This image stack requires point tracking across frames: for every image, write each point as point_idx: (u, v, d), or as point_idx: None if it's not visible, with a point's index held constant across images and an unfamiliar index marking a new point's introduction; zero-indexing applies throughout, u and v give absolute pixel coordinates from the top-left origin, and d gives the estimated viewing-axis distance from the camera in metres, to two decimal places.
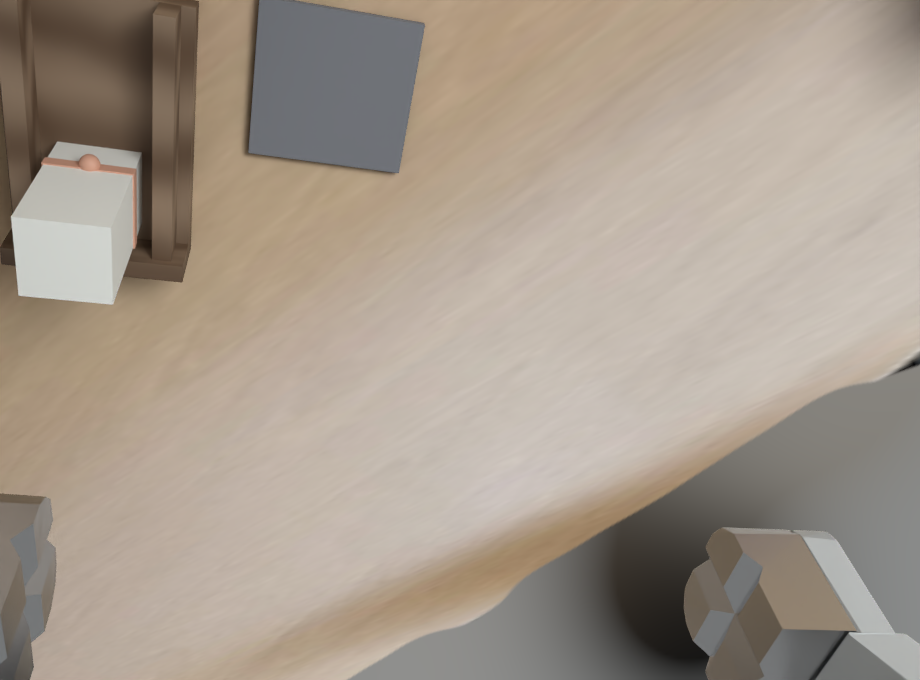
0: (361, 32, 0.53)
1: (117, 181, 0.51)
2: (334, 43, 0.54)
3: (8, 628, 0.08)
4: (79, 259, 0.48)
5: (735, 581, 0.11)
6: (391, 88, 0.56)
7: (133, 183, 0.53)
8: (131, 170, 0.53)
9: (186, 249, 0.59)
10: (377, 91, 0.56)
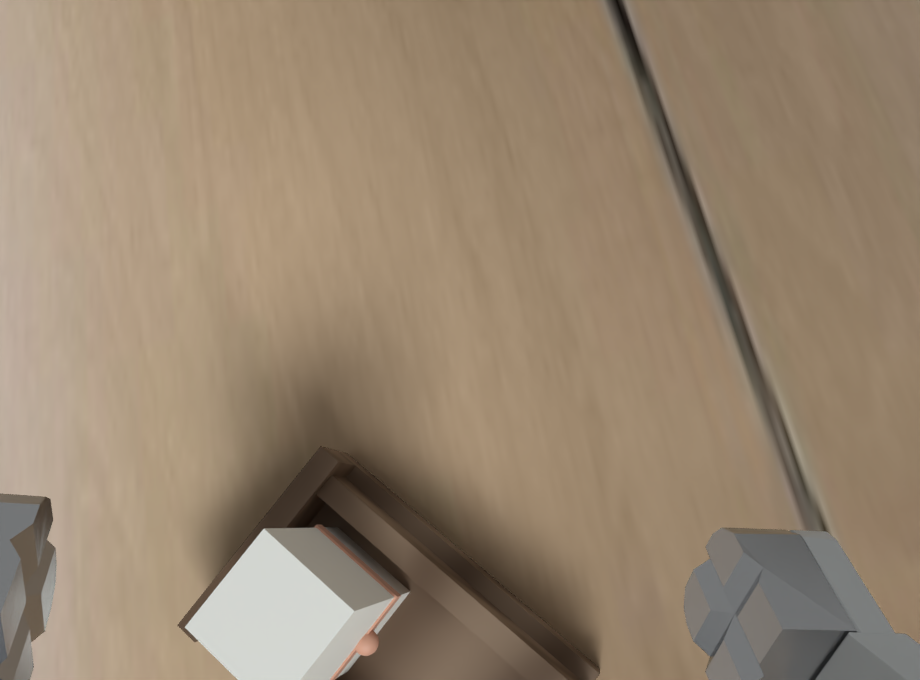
0: None
1: (328, 675, 0.39)
2: None
3: (8, 628, 0.08)
4: (260, 640, 0.34)
5: (735, 581, 0.11)
6: None
7: None
8: None
9: None
10: None
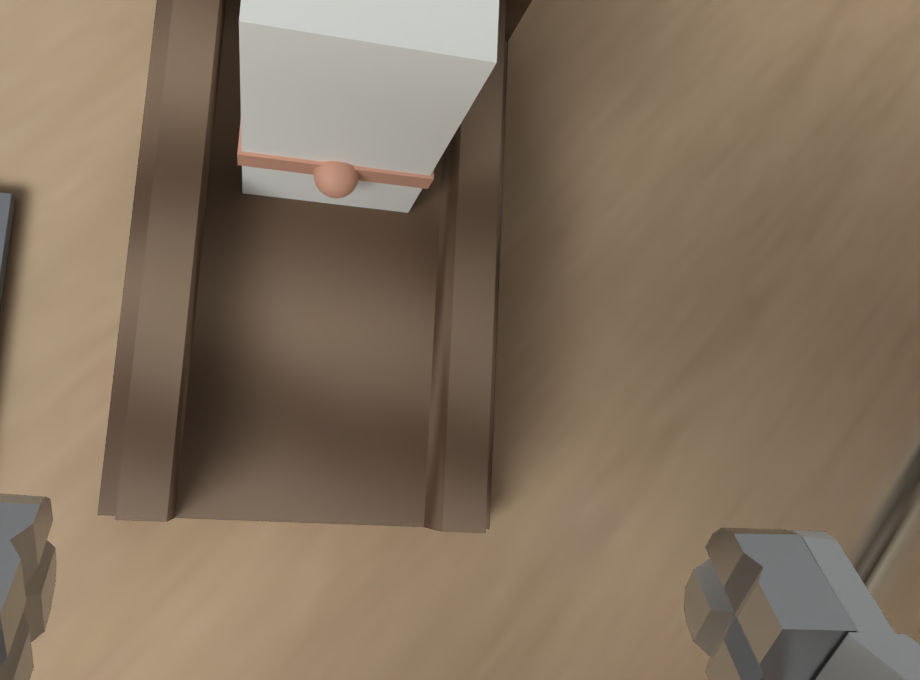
0: None
1: (268, 139, 0.22)
2: None
3: (8, 628, 0.08)
4: None
5: (735, 581, 0.11)
6: None
7: (241, 132, 0.23)
8: (247, 161, 0.23)
9: None
10: None
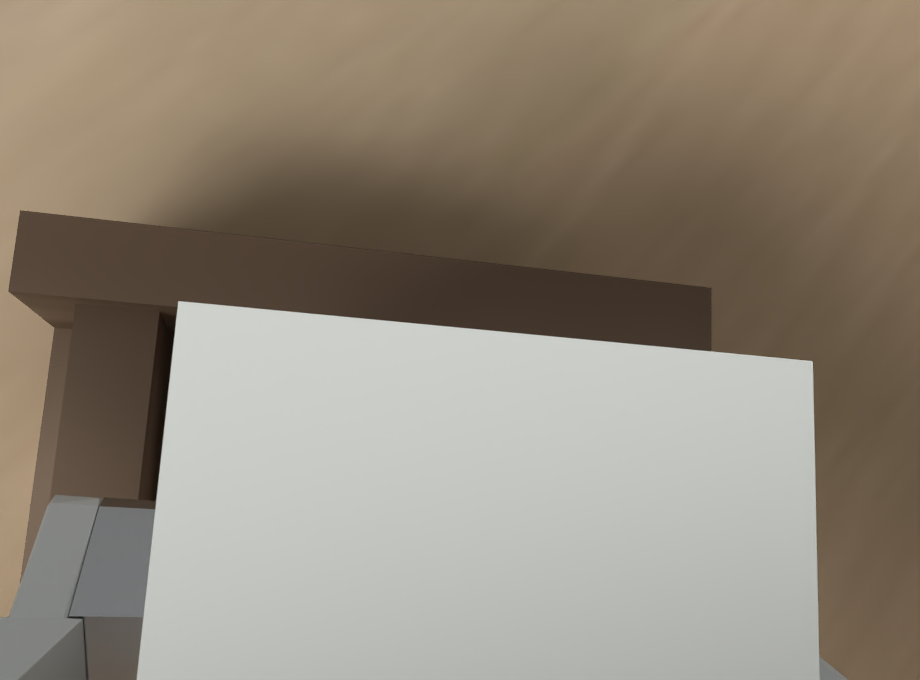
0: None
1: None
2: None
3: None
4: None
5: None
6: None
7: None
8: None
9: None
10: None
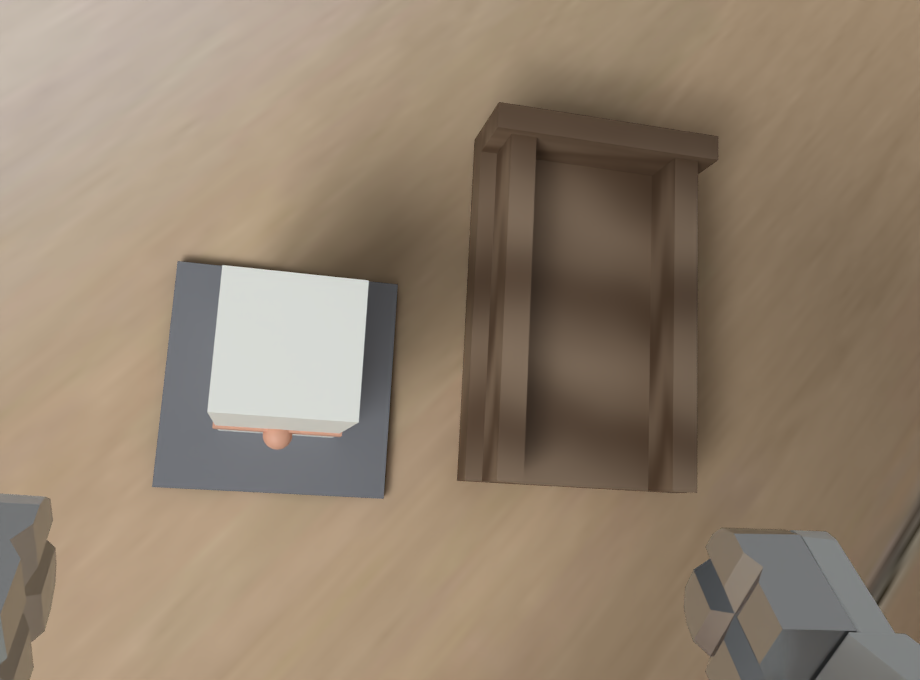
0: (245, 467, 0.38)
1: (231, 424, 0.34)
2: None
3: (8, 628, 0.08)
4: (266, 350, 0.29)
5: (735, 581, 0.11)
6: (197, 391, 0.38)
7: None
8: (219, 428, 0.35)
9: (485, 145, 0.42)
10: None
